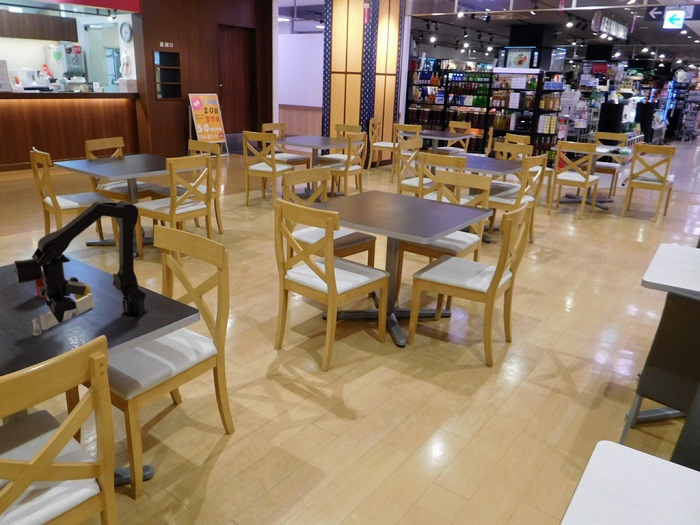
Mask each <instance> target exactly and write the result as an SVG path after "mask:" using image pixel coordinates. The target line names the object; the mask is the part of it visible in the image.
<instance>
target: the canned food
mask: <svg viewBox="0 0 700 525" xmlns="http://www.w3.org/2000/svg"><path fill="white" fill-rule="evenodd" d="M41 269H42V276H41V278H40V279H39V280H36V281H34V282H35V283H34V284H35V288H36V294H37V297H38V298H40V299H42V300H47V297H46V296H45V294H44V297H41V296H40V295H39V289H40V288H41V287H42V286H45V284H44V283H43V279H44V275H43V268H42V266H41Z"/></svg>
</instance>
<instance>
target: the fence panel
mask: <svg viewBox="0 0 700 525" xmlns="http://www.w3.org/2000/svg"><path fill="white" fill-rule="evenodd" d="M93 295H94V294H93V293H91V294H90V293H88V294H87V296H84V297H82V298H80V299H78V300H76V299H75V300H74V301H75V302H76V307H77V308H76V315H77V314H78V315H79V314H81V313H84V312H86V311H88V310H90V309H94V308H95V306H94V305H95V304H94V296H93Z"/></svg>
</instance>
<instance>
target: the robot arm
mask: <svg viewBox="0 0 700 525" xmlns="http://www.w3.org/2000/svg"><path fill="white" fill-rule="evenodd" d="M101 217H109V218H110V217H111V218H115V221H116V224H117V227H118V255H119V256H118V257H119V258H118V259H119V260H118V264H119V266H118V268H119V269H118V271H117V273H112V277H113V281H112V286H113V287H114V289H115V290H116V291H117V292H119V293H120V294H121V295H122V296H123V297H122V309H123V312H122V313H121V316H123V317H129V318H133V319H137V318H139V317H141V316H143V315H144V314H146V313H148V312H149V310H148V309H146V308H145V300H146V295H147V293H145V291H143V290H142V289H141V288H139V282H138V278H137V276H136V273H135V271H134V269H135V268H134V267H135V266H134V259H135V256H134V254H135V252H134V251H135V250H134V244H135V242H134V239H135V238H134V237H135V234H134V230H135V228H136V225H137V223H138V219H139V209H138V207H137V206H136V205H134V204H133V203H130V202H128V201H127V200H120V201H117V202H114V201H113V202H111V201H110V202H109V201H107V202H104V201H103V202H100V201H94V202H92V204H91V205H90V206H89V207H87V209H85V210H84V211H83V212H81V213H80V214H79V215H77V216H76V217H75V218H74V219H72V220H71V221H69V222H68V223H67V224H66V225H64V226H63V227H62V228H60V229H57V230H56V231H55V230H54V231H52V232H50V233H48V234H46V235H45V236H43V237H41V238H40V239H39V240H38V242H37V248H36V250H35V251H34V252H33V254H32V256H31V259H22V260H14V262H13V263H14V266H13V271H12V272H13V275H14V278H15V282H16V284H18V285H19V284H26V283H29V282H35V281H36V280H39V279H40V278H41V276H42V269H41V266H42V268H43V275H44V279H43V283H44V284H45V286H42V287H41V288H40V289H39V295H40V296H41V297H44V294H45V296H46V297H47V299H46V300H44V303H45V305H46V306H47V307H48V309H49V312H50V311H51V312H52V314H53V315H54V317H55V318H56V320H57V321H58V324H61V323H63V322H64V321H63V318H64V312H65V311H69V310H73V309H76V308H77V307H76V302H75V301H76V300H74V299H73V298H71V297H70V296H71V295H74V294H78V295H82V296H83V295H84V293H85V289H86V285H85V284H86V283H84V282H82V281H79V279H78V278H77V277H76V276H71V277H70V278H69V279H67V278H66V276H65V270H64V269H65V268H64V263H65V264H66V263H70V262H71V259H69V258H68V257H67V256H65V255H64V254H63V253H64V252H65V251H66V250H67V249H68V248H69V246H70V244H71V243H72V241H74V239H75V238H76V237H78V236H80V235H81V234H82V233H83V232H84V231H85V230H87V229H88V228H89V227H91V226H92V225H93V224H95V223H96V222H97V221H98V220H99V219H100V218H101Z"/></svg>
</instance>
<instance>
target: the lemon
mask: <svg viewBox="0 0 700 525" xmlns="http://www.w3.org/2000/svg"><path fill="white" fill-rule="evenodd" d="M84 284H85V285H86V289H85V293H84V295H83V296H82V295H78V294H73V295H74V298H75V301H76V300H78V299H80V298H82V297H84V296H87V294H88V293H90V294H92V289H91V287H90V286H89V285H88V284H87V283H84Z"/></svg>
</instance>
